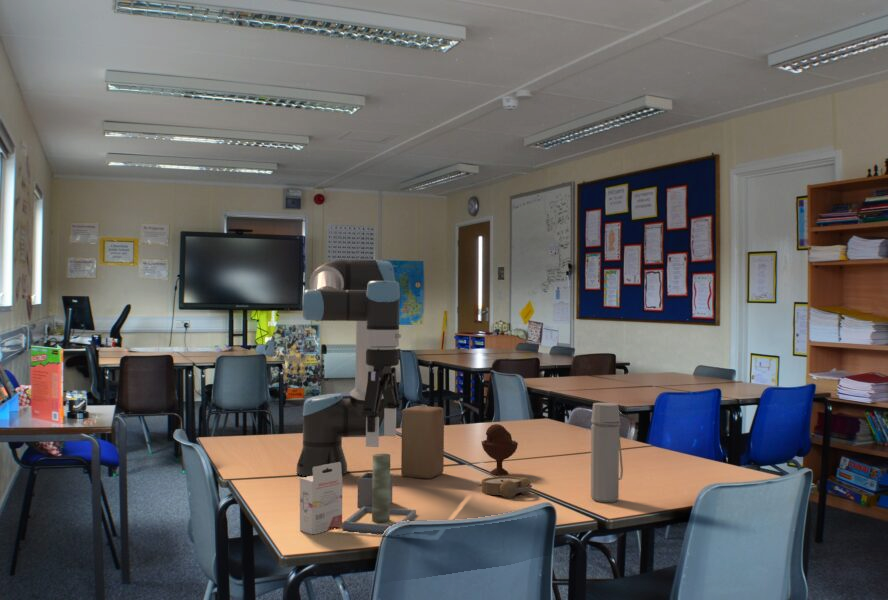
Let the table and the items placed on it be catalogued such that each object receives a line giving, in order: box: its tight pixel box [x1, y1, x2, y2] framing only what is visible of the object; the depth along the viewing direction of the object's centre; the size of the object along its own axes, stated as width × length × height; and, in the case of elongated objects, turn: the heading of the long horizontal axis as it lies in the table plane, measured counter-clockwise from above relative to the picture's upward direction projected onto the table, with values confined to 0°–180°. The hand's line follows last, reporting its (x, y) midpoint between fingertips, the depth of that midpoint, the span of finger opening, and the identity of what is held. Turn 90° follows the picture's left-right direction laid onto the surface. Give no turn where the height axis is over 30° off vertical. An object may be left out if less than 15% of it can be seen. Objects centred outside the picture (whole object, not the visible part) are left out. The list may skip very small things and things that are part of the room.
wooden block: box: [400, 405, 445, 480], centre depth 220 cm, size 10×10×20 cm
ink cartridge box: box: [299, 462, 343, 535], centre depth 164 cm, size 9×5×15 cm, turn 138°
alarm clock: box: [477, 475, 533, 499], centre depth 198 cm, size 11×5×15 cm
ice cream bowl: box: [481, 423, 519, 476], centre depth 223 cm, size 11×11×15 cm
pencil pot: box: [356, 472, 394, 509], centre depth 181 cm, size 7×7×8 cm
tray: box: [342, 506, 417, 536], centre depth 167 cm, size 13×14×2 cm
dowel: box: [371, 452, 391, 524], centre depth 167 cm, size 4×4×15 cm
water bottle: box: [590, 402, 624, 503], centre depth 193 cm, size 9×8×25 cm
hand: (381, 441), depth 168 cm, fingers open, 13 cm apart
